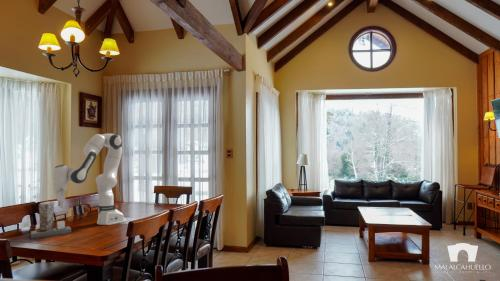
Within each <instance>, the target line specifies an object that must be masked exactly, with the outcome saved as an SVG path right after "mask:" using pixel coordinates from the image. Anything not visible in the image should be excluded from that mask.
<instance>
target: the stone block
mask: <svg viewBox="0 0 500 281" xmlns="http://www.w3.org/2000/svg"><path fill="white" fill-rule="evenodd" d="M54 210H55V201H45V202H41V203H39V204H38V214H39V230H44V229H51V228H54V218H55V217H54V215H55V214H54V213H55V211H54Z"/></svg>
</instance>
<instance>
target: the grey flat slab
mask: <svg viewBox="0 0 500 281" xmlns="http://www.w3.org/2000/svg"><path fill="white" fill-rule="evenodd" d="M71 233H72V228H71V227H70V226H69V225H68V226H65V229H61V230H57V227H52V228H51V229H44V230H40V229H38V230H37V229H36V230H31V231H30V238H31V239H38V238H46V237H52V236H59V235H60V236H61V235H67V234H71Z"/></svg>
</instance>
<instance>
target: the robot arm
mask: <svg viewBox="0 0 500 281" xmlns="http://www.w3.org/2000/svg"><path fill="white" fill-rule="evenodd" d="M122 145H123V138H122V137H121V135H118V134H116V133H101V134H99V133H95V134H94V135H93V136H92V137H90V139H89V140H88V141H87V143H86V144H85V145H84V148H83V149H82V151H83V154H84V157H85V158H84V159H83V161H82V163H81V165H80V166H79V168H74V167H73V168H72V167H70V166H68V165H67V164H59V165H56V166H55V167H54V169H53V188H52V189H53V191H55V192H54V194H55V199H56V200H57V205H58V207H59V208H60V209H63V207H64V203H65V201H66V191H67V190H68V183H69V182H70V183H75V184H82V183H84V182H85V181H86V179H87V176H88V173H89V171H90V169H91V167H92V166H93V164H94V163H95V160H96V159H97V156H98V155H99V153H100V152H101V151H102V149H103V147H105V148H108V151H107V154H106V156H105V160H104V163H103V173H101V174H98V175H97V176H96V177H95V183H96V188H97V194H98V206H97V212H98V217H97V222H96V224H97V225H104V226H105V225H106V226H107V225H108V226H111V225H115V224H116V225H117V224H121V223H126V222H127V221H128V220H127V218H125V216H124V214H123V212H121V211H120V210H119V209H118V208H119V205H117V204H114V202H115V201H114V198H115V197H114V196H115V195H114V193H113V189H112V188H114V187H116V186H117V184H118V180H117V176H118V175H117V174H118V169H119V166H120V162H121V159H122V155H123V147H122Z"/></svg>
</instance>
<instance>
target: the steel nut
mask: <svg viewBox="0 0 500 281" xmlns="http://www.w3.org/2000/svg"><path fill="white" fill-rule="evenodd" d="M65 227H66V222H65V220H59V221H56V228H57V230H61V229H65Z"/></svg>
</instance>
